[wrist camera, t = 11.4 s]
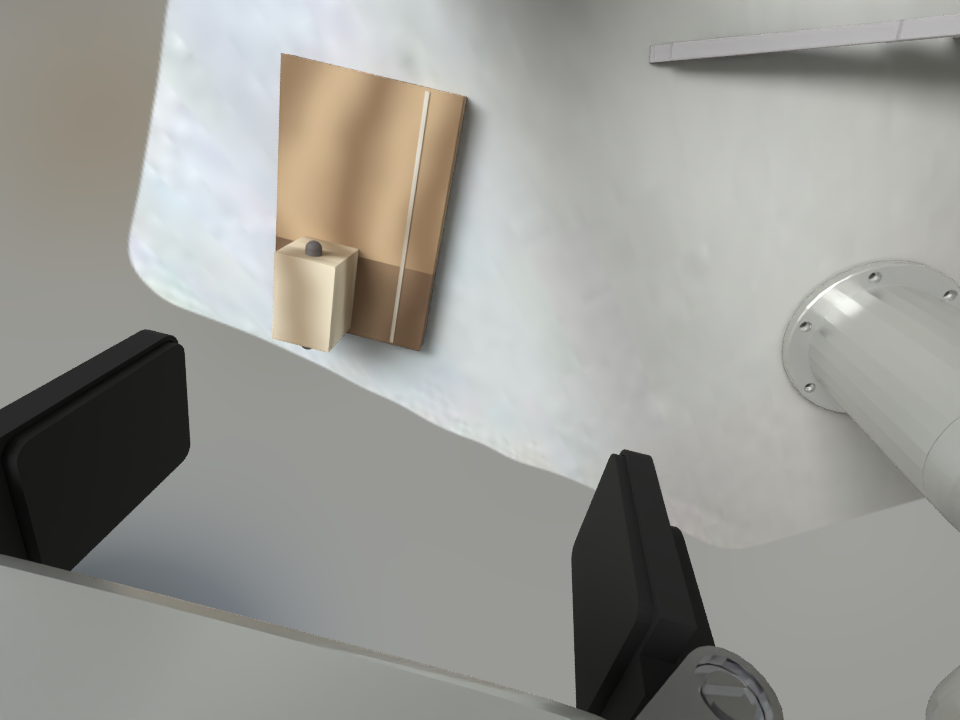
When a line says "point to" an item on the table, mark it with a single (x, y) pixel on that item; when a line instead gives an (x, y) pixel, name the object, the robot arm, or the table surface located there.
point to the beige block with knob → (313, 292)
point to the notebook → (369, 184)
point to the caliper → (811, 38)
